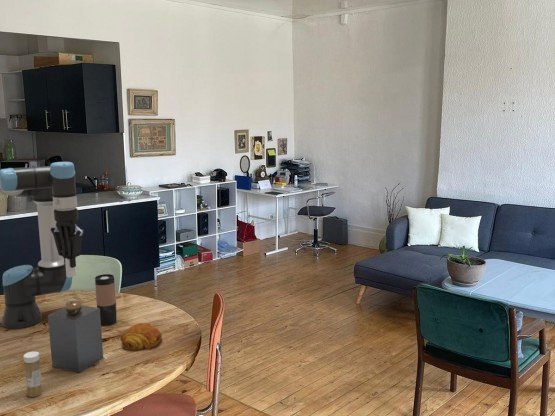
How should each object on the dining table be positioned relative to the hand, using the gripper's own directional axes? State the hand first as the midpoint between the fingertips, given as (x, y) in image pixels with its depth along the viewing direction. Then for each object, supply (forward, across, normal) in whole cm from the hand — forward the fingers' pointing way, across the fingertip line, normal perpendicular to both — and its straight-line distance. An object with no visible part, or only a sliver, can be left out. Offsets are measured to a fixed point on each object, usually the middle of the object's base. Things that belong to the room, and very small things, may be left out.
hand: (71, 276), depth 191 cm
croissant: (+32, +11, +22) cm, 41 cm away
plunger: (+30, 0, 0) cm, 30 cm away
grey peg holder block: (+32, 0, 0) cm, 32 cm away
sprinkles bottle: (+32, +3, -22) cm, 39 cm away
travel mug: (+32, -15, +33) cm, 48 cm away
